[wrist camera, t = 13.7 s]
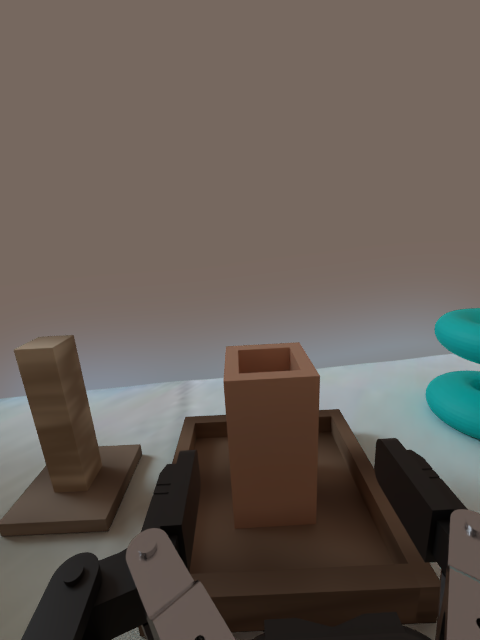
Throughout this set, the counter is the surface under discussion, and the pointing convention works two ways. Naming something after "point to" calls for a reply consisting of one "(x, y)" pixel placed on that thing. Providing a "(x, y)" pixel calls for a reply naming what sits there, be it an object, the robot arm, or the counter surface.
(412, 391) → the counter surface
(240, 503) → the sleeve
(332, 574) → the tray
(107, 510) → the post
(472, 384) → the donuts
